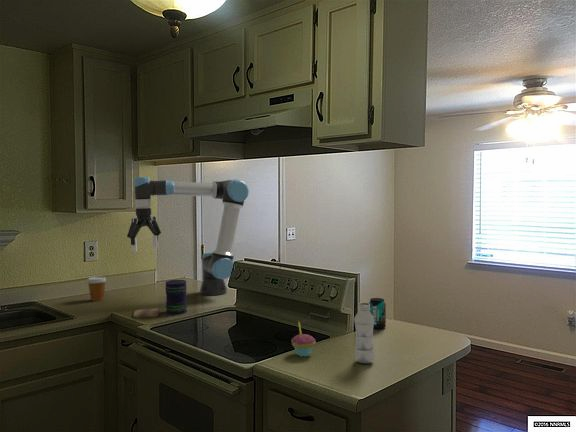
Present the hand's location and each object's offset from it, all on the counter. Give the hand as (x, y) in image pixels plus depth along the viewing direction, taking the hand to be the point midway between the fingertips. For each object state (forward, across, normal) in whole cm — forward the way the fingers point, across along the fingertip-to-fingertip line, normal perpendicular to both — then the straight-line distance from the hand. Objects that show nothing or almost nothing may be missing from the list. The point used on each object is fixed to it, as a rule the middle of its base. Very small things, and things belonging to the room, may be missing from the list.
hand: (145, 249), depth 251 cm
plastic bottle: (+30, +22, +127) cm, 133 cm away
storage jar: (+29, +3, +22) cm, 37 cm away
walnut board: (+29, +12, +12) cm, 34 cm away
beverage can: (+30, -19, +116) cm, 121 cm away
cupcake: (+29, +25, +105) cm, 112 cm away
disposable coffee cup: (+29, +4, -34) cm, 45 cm away
